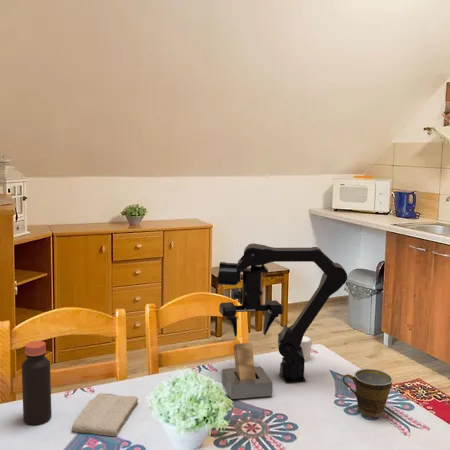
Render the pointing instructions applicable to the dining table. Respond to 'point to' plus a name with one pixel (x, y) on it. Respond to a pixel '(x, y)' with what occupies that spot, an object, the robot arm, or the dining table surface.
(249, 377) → the oak peg
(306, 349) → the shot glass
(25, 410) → the bottle
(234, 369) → the socket block
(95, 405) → the washcloth
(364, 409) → the ceramic cup
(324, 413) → the dining table surface
